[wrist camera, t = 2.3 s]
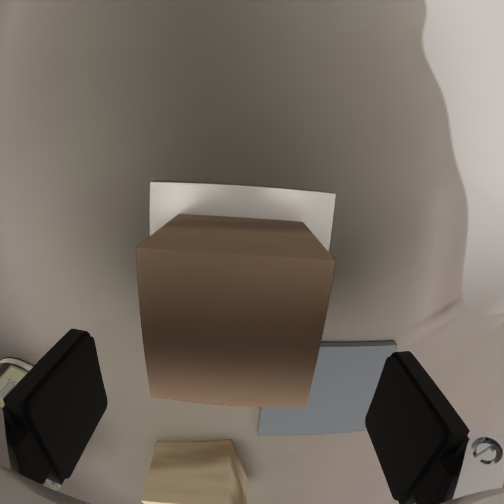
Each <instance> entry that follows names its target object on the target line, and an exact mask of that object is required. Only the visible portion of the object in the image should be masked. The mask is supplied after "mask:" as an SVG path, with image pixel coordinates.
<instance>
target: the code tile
mask: <svg viewBox="0 0 504 504" xmlns="http://www.w3.org/2000/svg"><path fill="white" fill-rule="evenodd" d="M335 196H336V194H334V193H327V192H317V191H307V190H297V189H285V188H273V187H260V186H245V185H228V184H209V183H183V182H150V236H151V235H152V234H153V233H155V232H156V231H157V230H159V229H160V228H161V227H162V226H164V225H165V224H166V223H167V222H169V221H170V220H171V219H173V218H174V217H175V216H177V215H178V214H190V215H208V216H226V217H242V218H257V219H271V220H285V221H298V222H303V223H304V224H305V225H306V226H307V227H308V228H309V230H310V231H311V232H312V233H313V234H314V235H315V237H316V238H317V239H318V240H319V241H320V242H321V244H322V245H323V246H324V247H325V248H326V250H327V251H328V252H329V246H330V238H331V231H332V223H333V214H334V205H335Z"/></svg>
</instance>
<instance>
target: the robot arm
mask: <svg viewBox="0 0 504 504" xmlns="http://www.w3.org/2000/svg"><path fill="white" fill-rule="evenodd" d="M3 402H4V404H5V405H4V406H3V408H1V407H0V504H90V503H87V502H84V501H81V500H78V499H76V498H73V497H70V496H68V495H65V494H63V493H60V492H58V491H55V490H53V489H51V488H48V487H46V486H45V484H44V483H45V481H46V479H48V480H51V481H53V482H55V483H58V484H60V485H62V483H63V481H64V479H65V478H66V479H67V478H69V477H70V476H71V474H72V472H73V470H74V468H75V466H76V464H77V463H78V461H79V459H80V457H81V455H82V453H83V451H84V449H85V447H86V445H87V443H88V441H89V440H90V438H91V436H92V434H93V432H94V430H95V428H96V426H97V425H98V423H99V421H100V419H101V417H102V415H103V414H104V412H105V410H106V408H107V396H106V392H105V388H104V384H103V380H102V375H101V371H100V366H99V362H98V357H97V352H96V346H95V341H94V339H93V337H90V334H89V333H88V332H87V331H82V330H77V329H71V330H69V331H68V332H67V333H66V334H65V335H64V336H63V337H62V338H61V339H60V340H59V341H58V342H57V343H56V344H55V345H54V346H53V347H52V348H51V349H50V350H49V351H48V352H47V353H46V354H45V355H44V356H43V357H42V358H41V359H40V360H39V361H38V362H37V363H36V364H35V365H34V367H33V368H32V369H31V370H30V371H29V372H28V373H27V374H26V375H25V376H24V377H23V378H22V379H21V380H20V381H19V382H18V383H17V384H16V386H15V387H14V388H13V389H12V390H11V391H10V392H9V393H8V394H7V395H6V396H5V398H4V399H3ZM365 425H366V428H367V431H368V433H369V436H370V438H371V441H372V444H373V446H374V449H375V451H376V454H377V456H378V459H379V462H380V464H381V467H382V470H383V472H384V475H385V478H386V480H387V483H388V486H389V488H390V491H391V494H392V497H393V499H394V500H398V501H399V504H504V444H503V443H502V442H501V440H499V439H498V438H497V437H495V436H493V435H490V434H484V433H483V434H477V435H475V436H473V437H472V438H471V439H469V438H468V436H467V435H468V433H469V429H468V428H467V426H466V425H465V423H464V422H463V421H462V419H461V418H460V416H459V415H458V414H457V412H456V411H455V410H454V408H453V407H452V405H451V404H450V403H449V401H448V400H447V399H446V397H445V396H444V395H443V393H442V392H441V391H440V389H439V388H438V387H437V385H436V384H435V383H434V381H433V380H432V379H431V377H430V376H429V375H428V373H427V372H426V371H425V370H424V368H423V367H422V366H421V364H420V363H419V362H418V361H417V359H416V358H415V357H414V355H413V354H412V353H411V352H409V351H405V352H394V353H392V354H391V356H390V357H387V359H386V361H385V364H384V367H383V370H382V373H381V376H380V379H379V382H378V385H377V388H376V390H375V393H374V396H373V399H372V401H371V404H370V407H369V409H368V412H367V414H366V417H365Z"/></svg>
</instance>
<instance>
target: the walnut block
mask: <svg viewBox="0 0 504 504" xmlns="http://www.w3.org/2000/svg"><path fill="white" fill-rule="evenodd" d="M136 259H137V278H138V293H139V305H140V316H141V326H142V336H143V344H144V352H145V360H146V367H147V374H148V381H149V387H150V393H151V397H156V398H163V399H170V400H177V401H186V402H195V403H204V404H216V405H229V406H247V407H306V405H307V401H308V397H309V393H310V389H311V384H312V380H313V376H314V371H315V367H316V363H317V358H318V353H319V349H320V344H321V339H322V334H323V329H324V324H325V319H326V314H327V308H328V303H329V297H330V291H331V285H332V279H333V273H334V267H335V259H334V258H333V257H332V256H331V254H330V253H329V252H328V251H327V250H326V248H325V247H324V246H323V245H322V244H321V242H320V241H319V240H318V239H317V238H316V237H315V235H314V234H313V233H312V232H311V231H310V230H309V228H308V227H307V226H306V225H305V224H304V223H303V222H298V221H285V220H271V219H257V218H242V217H226V216H208V215H190V214H178V215H177V216H175V217H174V218H173V219H171V220H170V221H169V222H167V223H166V224H165V225H164V226H162V227H161V228H160V229H159V230H157V231H156V232H155V233H153V234H152V235H151V236H150V237H148V238H147V239H146V240H145V241H143V242H142V243H141V244H140V245H138V246H137V247H136Z"/></svg>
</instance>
